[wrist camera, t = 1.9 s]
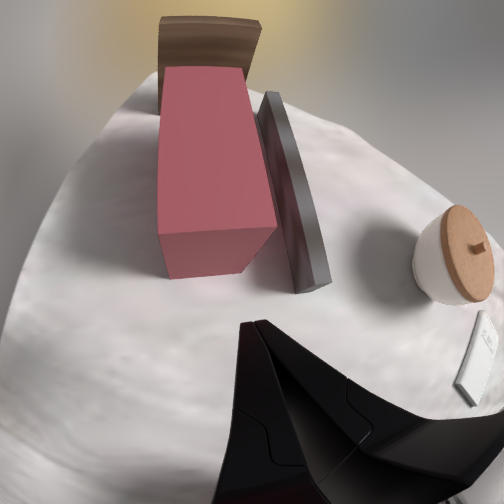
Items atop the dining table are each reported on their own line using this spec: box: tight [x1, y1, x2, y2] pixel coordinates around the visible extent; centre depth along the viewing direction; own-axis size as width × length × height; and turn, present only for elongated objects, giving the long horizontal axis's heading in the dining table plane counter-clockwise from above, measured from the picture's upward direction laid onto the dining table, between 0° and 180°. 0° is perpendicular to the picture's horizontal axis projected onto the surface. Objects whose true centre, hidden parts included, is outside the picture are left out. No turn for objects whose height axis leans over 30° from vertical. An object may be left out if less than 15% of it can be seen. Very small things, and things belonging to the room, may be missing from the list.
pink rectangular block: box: [157, 66, 278, 279], centre depth 20 cm, size 14×6×10 cm, turn 9°
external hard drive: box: [455, 310, 499, 406], centre depth 27 cm, size 2×8×12 cm
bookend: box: [158, 16, 332, 294], centre depth 20 cm, size 23×13×12 cm, turn 9°
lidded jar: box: [412, 205, 494, 306], centre depth 24 cm, size 11×11×9 cm
